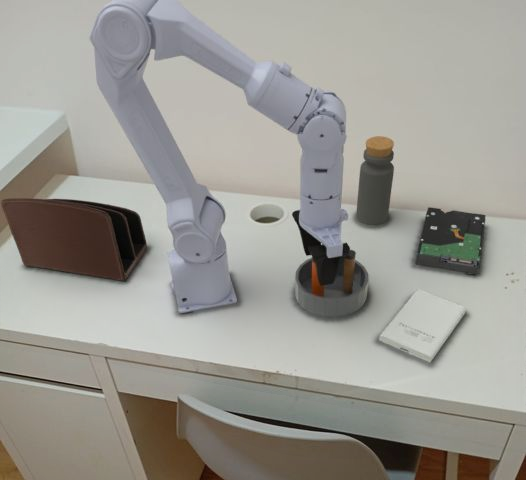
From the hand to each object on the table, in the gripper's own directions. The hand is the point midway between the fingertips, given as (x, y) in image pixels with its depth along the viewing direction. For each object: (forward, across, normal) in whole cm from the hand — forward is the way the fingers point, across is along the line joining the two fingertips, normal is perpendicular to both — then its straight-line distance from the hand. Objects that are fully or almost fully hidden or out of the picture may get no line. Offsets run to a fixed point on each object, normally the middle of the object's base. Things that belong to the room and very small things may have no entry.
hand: (318, 268), depth 89 cm
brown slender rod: (+6, 0, -5) cm, 8 cm away
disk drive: (+6, +7, -26) cm, 28 cm away
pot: (+6, 0, -2) cm, 6 cm away
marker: (+6, 0, 0) cm, 6 cm away
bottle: (+6, +19, -16) cm, 26 cm away
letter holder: (+6, +22, +37) cm, 43 cm away
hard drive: (+6, -11, -13) cm, 18 cm away
